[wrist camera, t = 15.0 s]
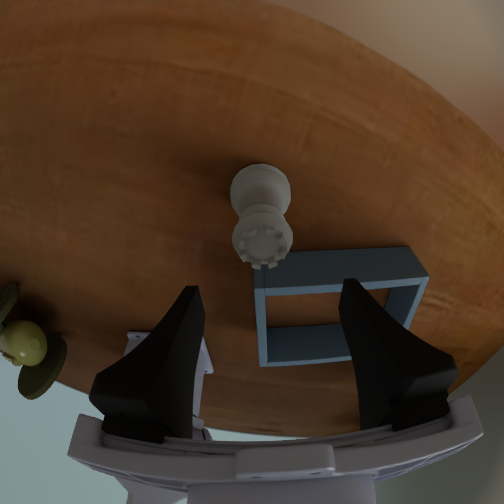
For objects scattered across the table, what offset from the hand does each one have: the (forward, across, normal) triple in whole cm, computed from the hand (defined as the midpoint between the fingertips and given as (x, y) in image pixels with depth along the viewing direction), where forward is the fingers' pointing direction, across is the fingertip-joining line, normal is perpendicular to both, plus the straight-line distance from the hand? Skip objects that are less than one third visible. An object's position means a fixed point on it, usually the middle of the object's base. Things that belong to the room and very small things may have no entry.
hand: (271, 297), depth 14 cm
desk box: (+10, -6, +9) cm, 15 cm away
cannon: (+10, +38, +14) cm, 42 cm away
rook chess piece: (+10, 0, -2) cm, 10 cm away
